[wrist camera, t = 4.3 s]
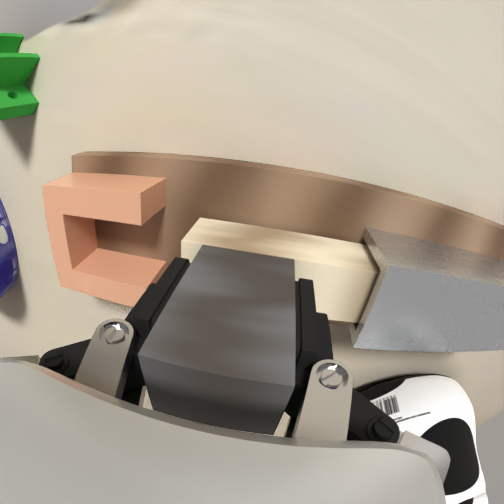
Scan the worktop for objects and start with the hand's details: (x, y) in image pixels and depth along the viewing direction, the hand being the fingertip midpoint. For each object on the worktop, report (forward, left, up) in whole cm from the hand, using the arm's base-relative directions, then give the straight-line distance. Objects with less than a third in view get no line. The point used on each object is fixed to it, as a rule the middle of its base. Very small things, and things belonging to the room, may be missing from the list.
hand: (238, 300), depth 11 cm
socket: (0, +9, -5) cm, 10 cm away
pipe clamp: (+13, +21, -7) cm, 26 cm away
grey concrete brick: (0, -13, -5) cm, 14 cm away
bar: (0, -7, -4) cm, 8 cm away
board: (0, -5, -6) cm, 8 cm away
